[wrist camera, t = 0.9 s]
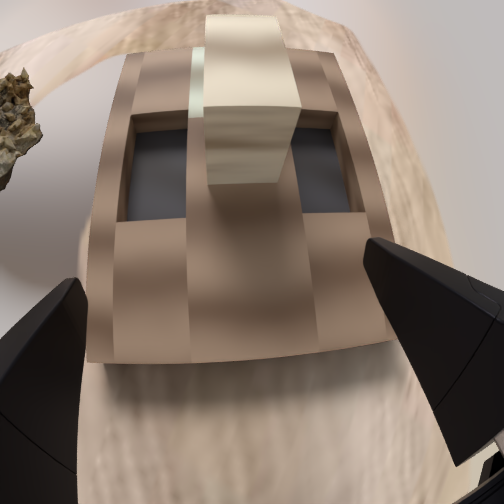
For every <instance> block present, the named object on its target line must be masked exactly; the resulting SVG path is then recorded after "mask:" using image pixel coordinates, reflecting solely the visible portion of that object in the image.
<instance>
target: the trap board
mask: <svg viewBox="0 0 504 504" xmlns="http://www.w3.org/2000/svg"><path fill="white" fill-rule="evenodd" d="M286 50H287V54H288V57H289V61H290V64H291V68H292V71H293V75H294V79H295V83H296V86H297V90H298V94H299V98H300V102H301V106H302V108H301V111H300V114H299V117H298V121H297V124H296V127H295V130H294V133H293V136H292V139H291V142H290V145H289V148H288V151H287V154H286V158H285V161H284V164H283V167H282V170H281V173H280V176H279V179H278V182H277V183H241V184H214V185H207V171H206V154H205V136H204V115H203V86H204V52H205V47H192V48H178V49H166V50H157V51H148V52H140V53H133V54H127V56H126V59H125V62H124V65H123V68H122V72H121V75H120V78H119V82H118V85H117V89H116V92H115V96H114V100H113V104H112V108H111V112H110V116H109V120H108V124H107V129H106V133H105V138H104V143H103V147H102V153H101V158H100V163H99V169H98V175H97V181H96V187H95V194H94V201H93V209H92V217H91V226H90V236H89V248H88V262H87V281H86V296H87V299H88V317H87V335H86V352H87V362H89V363H114V364H183V363H209V362H227V361H241V360H254V359H265V358H275V357H285V356H294V355H302V354H310V353H318V352H325V351H332V350H339V349H345V348H351V347H358V346H363V345H369V344H375V343H380V342H385V341H390V340H396V339H398V338H397V336H396V334H395V332H394V330H393V328H392V326H391V324H390V322H389V321H388V319H387V317H386V315H385V313H384V311H383V309H382V307H381V305H380V304H379V301H378V299H377V297H376V294H375V292H374V290H373V287H372V285H371V283H370V280H369V278H368V276H367V273H366V271H365V269H364V266H363V256H364V251H365V245H366V241H367V239H369V238H373V237H381V238H383V239H386V240H388V241H391V242H393V243H395V241H394V236H393V232H392V227H391V223H390V219H389V215H388V211H387V207H386V203H385V199H384V195H383V191H382V188H381V184H380V181H379V177H378V174H377V170H376V167H375V164H374V160H373V157H372V154H371V151H370V147H369V144H368V141H367V138H366V135H365V132H364V129H363V127H362V124H361V121H360V118H359V115H358V112H357V110H356V107H355V104H354V102H353V99H352V96H351V94H350V91H349V89H348V86H347V84H346V81H345V79H344V76H343V74H342V72H341V69H340V67H339V65H338V62H337V60H336V58H335V55H334V53H328V52H320V51H311V50H302V49H290V48H286Z"/></svg>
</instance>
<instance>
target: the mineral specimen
mask: <svg viewBox="0 0 504 504" xmlns="http://www.w3.org/2000/svg"><path fill="white" fill-rule="evenodd" d="M28 79H29V75H28V74H27V72H26V70H25V69H24V67H23V70H22V73H21V75H20V76H17V77H15V76H14V75H12V74H11V73H8V75H7V76H6V77H5V78H3V79H0V191H1V190H4V189H5V187H6V185H7V183H8V182H9V180H10V178H11V174H12V169H13V166H14V164H15V162H16V159H17V158H18V157H20V156H23V155H25V154H26V153H27V151H28V150H29V149H30V148H31V147H33V146H34V145H36V144H37V143H38V142H39V141H40V140H41V138H42V136H43V134H42V132H41V130H40V124H38V123H36V124H35V112H34V109H33V108H31V107H32V106H30V103H29V93H30V89H32V88H34V87H33V86H32V85H31V84H30V82H29V80H28Z"/></svg>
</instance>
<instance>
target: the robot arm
mask: <svg viewBox="0 0 504 504" xmlns="http://www.w3.org/2000/svg"><path fill="white" fill-rule="evenodd" d="M363 266H364V269H365V271H366V273H367V276H368V278H369V280H370V283H371V285H372V287H373V290H374V292H375V294H376V297H377V299H378V301H379V304H380V305H381V307H382V309H383V311H384V313H385V315H386V317H387V319H388V321H389V322H390V324H391V326H392V328H393V330H394V332H395V334H396V336H397V338H398V340H399V342H400V344H401V346H402V348H403V350H404V352H405V354H406V356H407V358H408V360H409V362H410V364H411V366H412V368H413V370H414V372H415V374H416V376H417V378H418V380H419V382H420V384H421V387H422V389H423V391H424V393H425V395H426V397H427V400H428V402H429V404H430V406H431V409H432V411H433V413H434V416H435V418H436V420H437V423H438V425H439V427H440V430H441V432H442V435H443V437H444V439H445V442H446V444H447V447H448V449H449V452H450V454H451V457H452V460H453V462H454V464H455V466H456V467H457V466H459V465H461V464H462V463H464V462H465V461H467V460H468V459H470V458H472V457H473V456H475V455H476V454H477V453H479V452H480V451H482V450H483V449H485V448H486V447H488V446H489V445H490V444H491V443H493V442H494V441H495V443H496V445H497V447H498V449H499V451H498V452H497V453H495V454H494V455H493V456H491V457H490V458H489V459H487V460H486V461H485V462H484V464H483V468H482V472H481V476H480V480H479V484H478V487H477V488H475V489H474V490H472V491H471V492H469V493H468V494H466V495H465V496H463V497H462V498H460V499H459V500H457V501H456V502H454V503H453V504H504V291H502V290H500V289H497V288H495V287H493V286H490V285H488V284H486V283H483V282H482V281H479V280H477V279H475V278H473V277H471V276H469V275H466V274H464V273H462V272H460V271H458V270H455V269H453V268H451V267H449V266H447V265H444V264H442V263H440V262H438V261H435V260H433V259H431V258H429V257H426V256H424V255H422V254H419V253H417V252H415V251H412V250H410V249H408V248H405V247H403V246H400V245H398V244H396V243H393V242H391V241H388V240H386V239H383V238H381V237H373V238H369V239H367V241H366V245H365V251H364V256H363ZM87 317H88V299H87V296H86V294H85V292H84V289H83V287H82V285H81V282H80V280H79V279H78V278H76V277H74V278H67V279H65V280H64V281H62V282H61V283H60V284H59V285H58V286H57V287H56V288H54V289H53V290H52V291H51V292H50V293H49V294H48V295H46V296H45V297H44V298H43V299H42V300H41V301H40V302H39V303H38V304H37V305H35V306H34V307H33V308H32V309H31V310H30V311H29V312H28V313H27V314H26V315H25V316H24V317H22V318H21V319H20V320H19V321H18V322H17V323H16V324H15V325H14V326H13V327H12V328H11V329H10V330H9V331H8V332H7V333H6V334H5V335H4V336H3V337H2V338H1V339H0V504H78V494H77V475H76V474H77V435H78V417H79V403H80V392H81V383H82V374H83V366H84V358H85V350H86V335H87Z"/></svg>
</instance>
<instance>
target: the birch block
mask: <svg viewBox="0 0 504 504" xmlns="http://www.w3.org/2000/svg"><path fill="white" fill-rule="evenodd" d="M301 108H302V106H301V102H300V98H299V94H298V90H297V86H296V83H295V79H294V75H293V71H292V68H291V64H290V61H289V57H288V54H287V50H286V47H285V43H284V40H283V37H282V33H281V30H280V27H279V24H278V20H277V17H276V16H265V15H206V28H205V52H204V86H203V115H204V136H205V154H206V171H207V185H214V184H241V183H277V182H278V179H279V176H280V173H281V170H282V167H283V164H284V161H285V158H286V154H287V151H288V148H289V145H290V142H291V139H292V136H293V133H294V130H295V127H296V124H297V121H298V117H299V114H300V111H301Z"/></svg>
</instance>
